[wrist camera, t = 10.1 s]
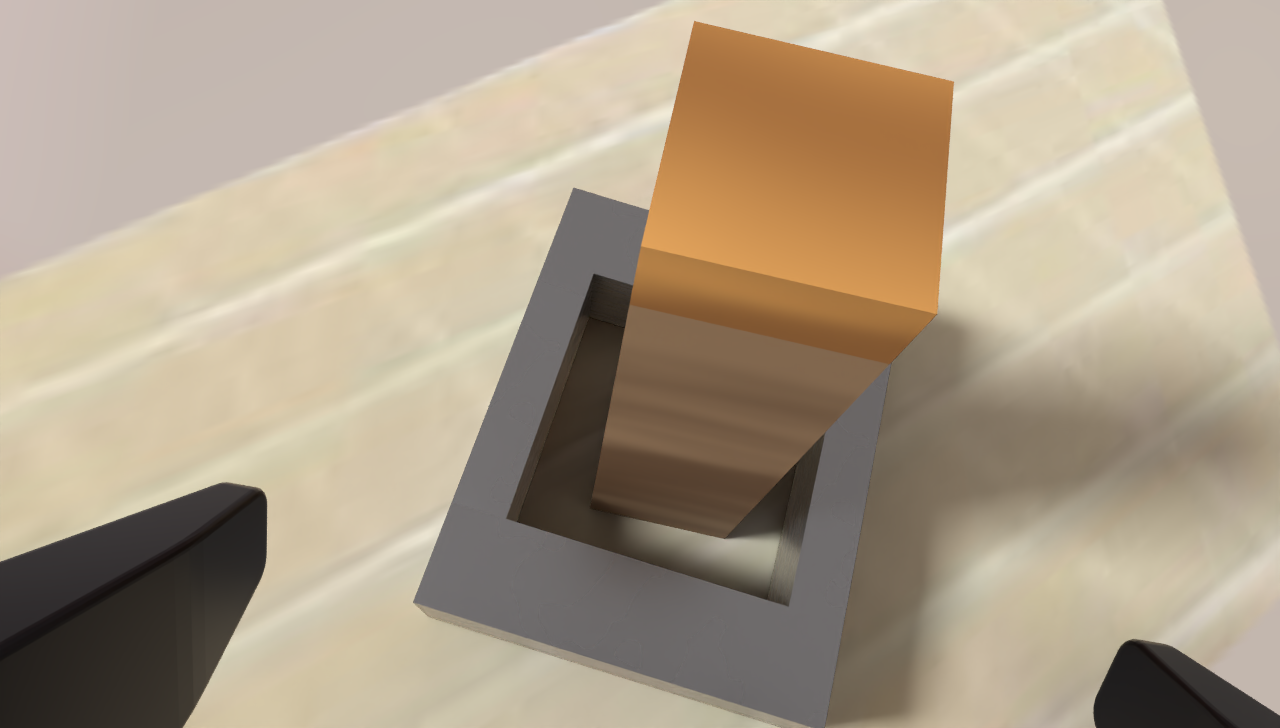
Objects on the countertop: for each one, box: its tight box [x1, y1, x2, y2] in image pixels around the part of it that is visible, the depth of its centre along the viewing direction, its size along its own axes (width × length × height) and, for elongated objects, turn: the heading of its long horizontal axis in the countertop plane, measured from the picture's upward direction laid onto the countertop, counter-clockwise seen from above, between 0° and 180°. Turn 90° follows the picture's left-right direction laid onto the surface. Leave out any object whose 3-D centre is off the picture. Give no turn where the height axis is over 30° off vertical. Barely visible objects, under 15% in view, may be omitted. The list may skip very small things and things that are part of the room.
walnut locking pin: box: [590, 21, 954, 539], centre depth 17 cm, size 4×4×13 cm
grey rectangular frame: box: [413, 188, 891, 728], centre depth 21 cm, size 11×9×2 cm
